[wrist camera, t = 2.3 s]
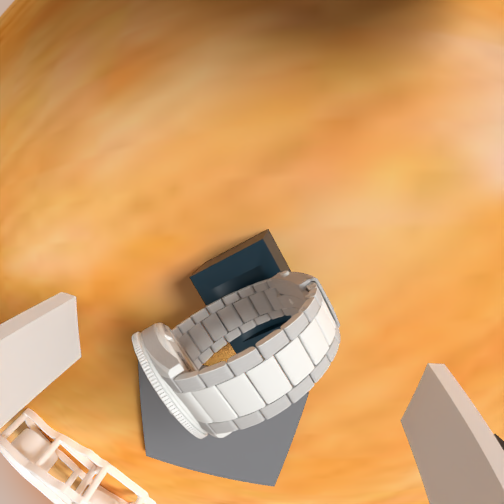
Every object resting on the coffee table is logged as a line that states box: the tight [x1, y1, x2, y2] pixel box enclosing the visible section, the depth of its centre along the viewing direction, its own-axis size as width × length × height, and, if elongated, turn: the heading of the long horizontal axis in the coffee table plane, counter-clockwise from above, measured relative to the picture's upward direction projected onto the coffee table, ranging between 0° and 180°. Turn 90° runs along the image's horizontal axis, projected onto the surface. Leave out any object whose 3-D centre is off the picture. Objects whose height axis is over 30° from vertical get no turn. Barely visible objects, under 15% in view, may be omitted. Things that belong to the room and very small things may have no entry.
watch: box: [132, 230, 340, 439], centre depth 13 cm, size 6×8×11 cm
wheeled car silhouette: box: [0, 408, 157, 504], centre depth 24 cm, size 20×11×7 cm, turn 42°
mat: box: [138, 361, 309, 486], centre depth 21 cm, size 12×12×1 cm
